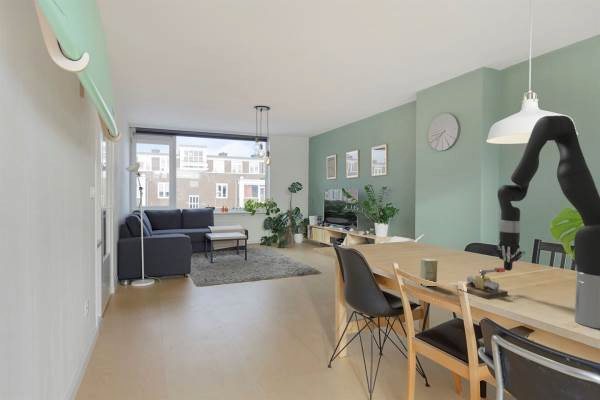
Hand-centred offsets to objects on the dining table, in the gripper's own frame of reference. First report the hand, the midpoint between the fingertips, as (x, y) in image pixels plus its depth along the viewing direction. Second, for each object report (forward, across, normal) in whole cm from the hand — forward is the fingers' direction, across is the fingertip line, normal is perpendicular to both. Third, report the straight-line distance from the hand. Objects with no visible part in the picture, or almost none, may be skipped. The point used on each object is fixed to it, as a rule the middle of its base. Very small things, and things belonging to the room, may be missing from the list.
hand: (507, 270), depth 146 cm
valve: (+8, +4, +11) cm, 14 cm away
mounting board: (+10, +5, +10) cm, 15 cm away
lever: (+2, +4, +5) cm, 6 cm away
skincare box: (+10, +21, +25) cm, 34 cm away
